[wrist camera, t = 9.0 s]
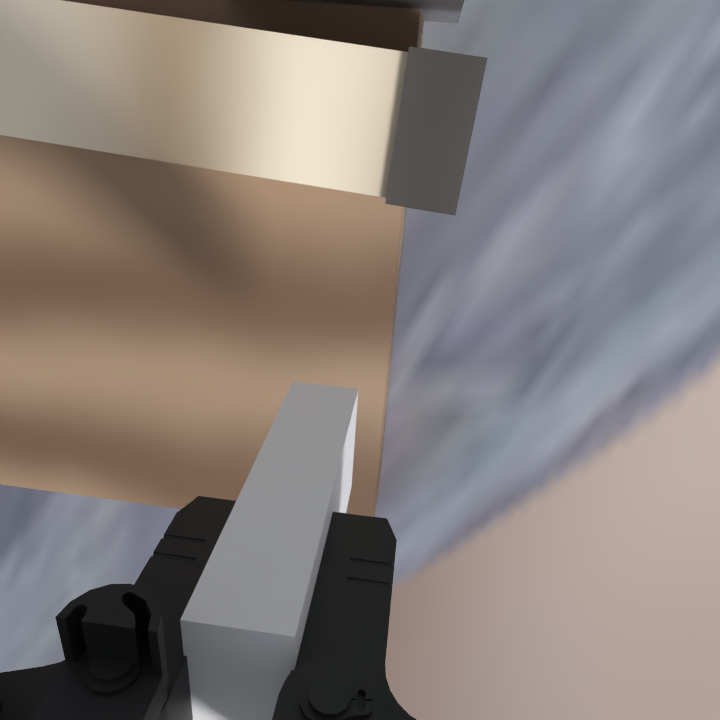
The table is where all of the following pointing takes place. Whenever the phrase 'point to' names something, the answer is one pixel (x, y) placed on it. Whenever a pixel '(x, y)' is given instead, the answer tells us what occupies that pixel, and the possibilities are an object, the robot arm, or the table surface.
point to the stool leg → (240, 100)
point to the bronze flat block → (191, 296)
